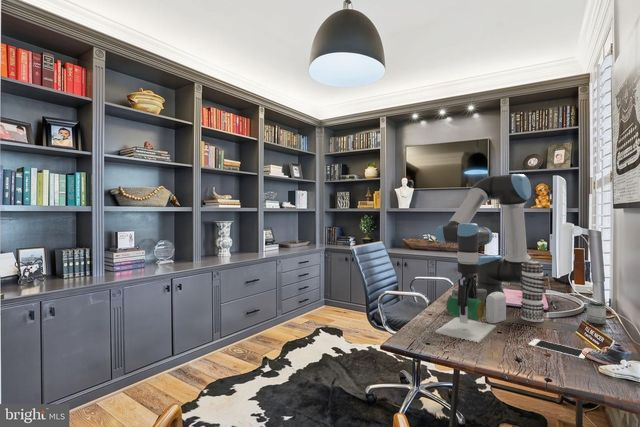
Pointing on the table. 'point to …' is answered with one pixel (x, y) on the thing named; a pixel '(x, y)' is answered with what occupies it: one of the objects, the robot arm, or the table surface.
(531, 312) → the tower model
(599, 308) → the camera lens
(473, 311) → the beverage can
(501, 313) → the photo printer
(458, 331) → the desk mat
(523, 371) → the table surface
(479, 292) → the grey translucent bin
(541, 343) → the cell phone
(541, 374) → the table surface
